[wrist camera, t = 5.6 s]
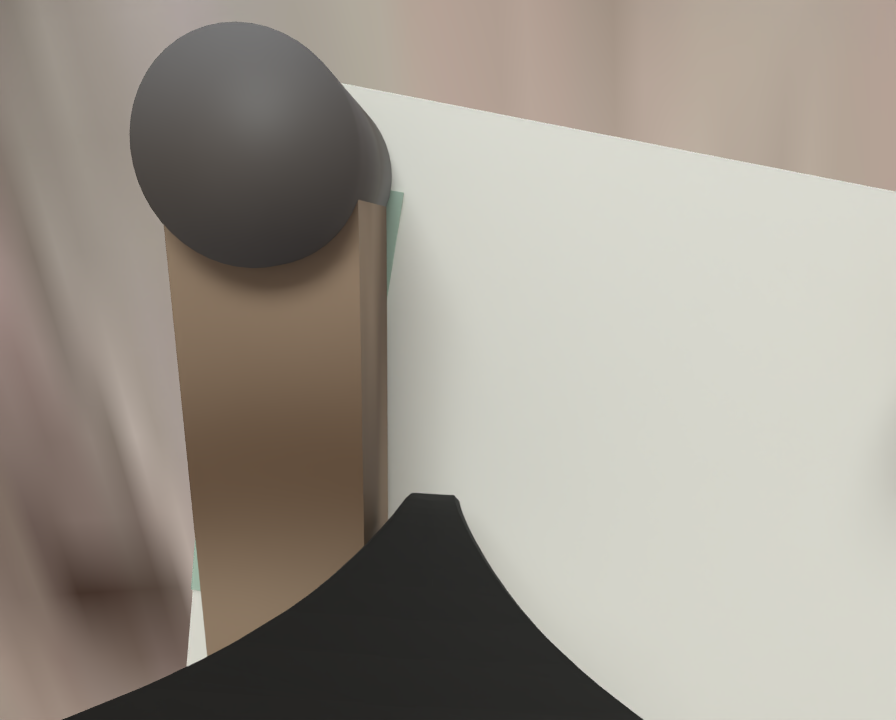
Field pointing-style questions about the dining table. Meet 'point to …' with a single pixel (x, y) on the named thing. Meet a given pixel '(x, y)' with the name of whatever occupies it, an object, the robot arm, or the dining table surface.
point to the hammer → (270, 310)
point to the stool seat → (651, 405)
